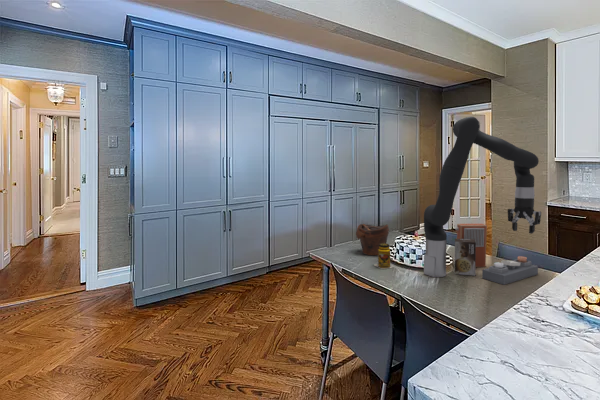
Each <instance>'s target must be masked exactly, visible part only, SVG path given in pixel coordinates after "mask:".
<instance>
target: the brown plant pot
mask: <svg viewBox="0 0 600 400" xmlns="http://www.w3.org/2000/svg"><path fill="white" fill-rule="evenodd" d="M389 232H390V227H389V224H384V225H377V226H376V225H372V224H366V223H361V224H359V225H358V226H357V228H356V231H355V235H356V238H357V240H359V241H360V245H361V246H360V247H361V250H362V253H363V254H364V255H368V256H378V249H379V244H381V243H386V244H387V240H388V236H389V234H390V233H389Z"/></svg>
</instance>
